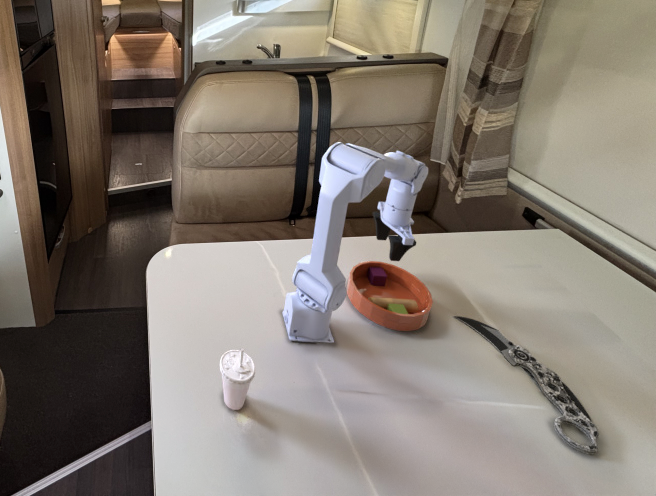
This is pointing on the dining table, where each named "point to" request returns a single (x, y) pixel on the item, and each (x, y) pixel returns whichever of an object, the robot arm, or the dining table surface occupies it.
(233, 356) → the smoothie
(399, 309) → the chunk
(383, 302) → the stick
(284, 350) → the dining table surface
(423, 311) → the bowl
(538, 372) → the knife
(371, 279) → the chunk
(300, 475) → the dining table surface
